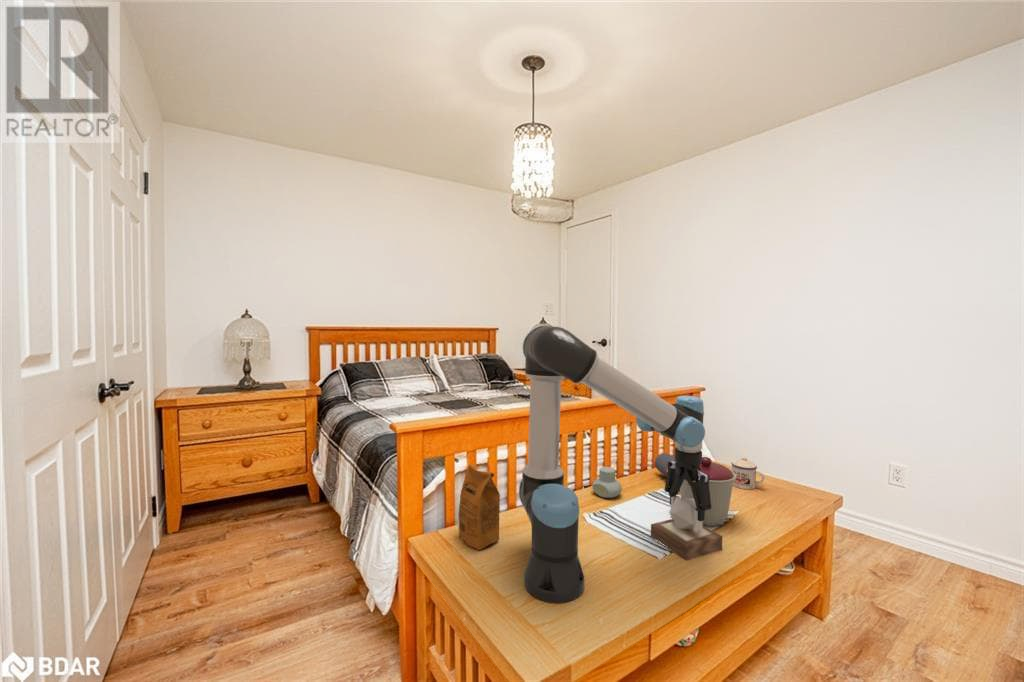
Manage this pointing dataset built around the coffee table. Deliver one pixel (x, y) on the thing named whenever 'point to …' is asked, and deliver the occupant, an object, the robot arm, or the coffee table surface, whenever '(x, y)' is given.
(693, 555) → the base
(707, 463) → the canister
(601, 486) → the air freshener
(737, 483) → the teacup with lid
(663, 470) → the bluetooth speaker
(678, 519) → the die
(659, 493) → the coffee table surface
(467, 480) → the coffee package
